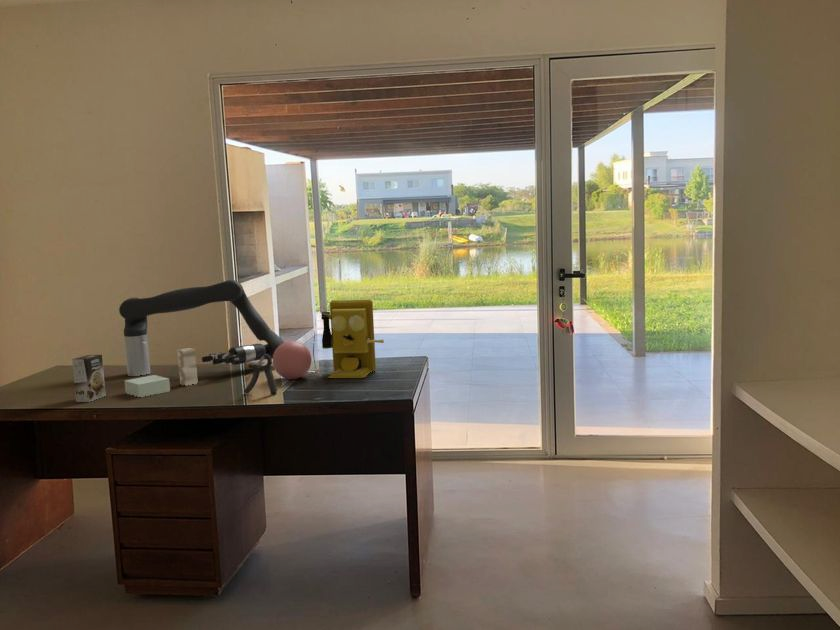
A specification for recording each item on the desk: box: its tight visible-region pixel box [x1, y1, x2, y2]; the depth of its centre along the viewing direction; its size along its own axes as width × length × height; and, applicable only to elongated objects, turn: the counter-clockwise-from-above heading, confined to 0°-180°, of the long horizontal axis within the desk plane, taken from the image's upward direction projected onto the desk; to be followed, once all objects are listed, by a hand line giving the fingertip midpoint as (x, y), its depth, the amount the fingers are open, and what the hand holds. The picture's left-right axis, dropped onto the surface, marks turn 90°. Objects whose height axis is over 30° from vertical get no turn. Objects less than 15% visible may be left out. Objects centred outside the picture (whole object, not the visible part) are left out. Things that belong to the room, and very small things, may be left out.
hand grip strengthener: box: [243, 354, 278, 395], centre depth 257 cm, size 2×13×15 cm, turn 78°
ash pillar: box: [176, 347, 199, 387], centre depth 279 cm, size 5×5×14 cm
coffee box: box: [71, 354, 107, 403], centre depth 260 cm, size 9×6×16 cm
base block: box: [124, 374, 171, 398], centre depth 268 cm, size 12×12×5 cm
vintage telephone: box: [312, 299, 384, 379], centre depth 283 cm, size 31×14×30 cm, turn 80°
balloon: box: [272, 340, 313, 380], centre depth 284 cm, size 15×20×15 cm
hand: (207, 360), depth 286 cm, fingers open, 8 cm apart
